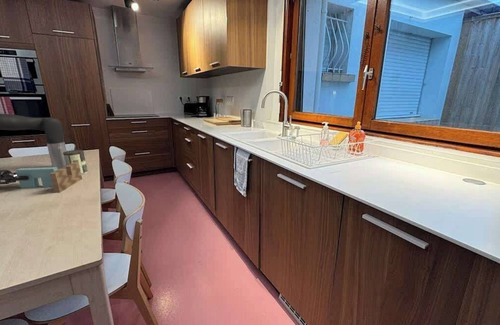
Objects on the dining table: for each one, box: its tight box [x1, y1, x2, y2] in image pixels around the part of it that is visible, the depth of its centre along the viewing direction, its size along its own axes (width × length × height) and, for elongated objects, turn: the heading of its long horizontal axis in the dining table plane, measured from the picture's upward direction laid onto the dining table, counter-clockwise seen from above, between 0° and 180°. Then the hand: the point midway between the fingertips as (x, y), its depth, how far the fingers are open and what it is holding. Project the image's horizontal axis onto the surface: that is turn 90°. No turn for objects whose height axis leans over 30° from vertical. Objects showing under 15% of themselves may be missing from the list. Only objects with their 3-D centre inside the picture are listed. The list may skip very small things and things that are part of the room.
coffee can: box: [63, 149, 88, 176], centre depth 147 cm, size 10×10×14 cm
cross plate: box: [15, 166, 59, 189], centre depth 127 cm, size 3×18×10 cm, turn 96°
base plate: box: [50, 162, 83, 193], centre depth 128 cm, size 20×2×10 cm, turn 6°
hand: (32, 176), depth 126 cm, fingers open, 5 cm apart
